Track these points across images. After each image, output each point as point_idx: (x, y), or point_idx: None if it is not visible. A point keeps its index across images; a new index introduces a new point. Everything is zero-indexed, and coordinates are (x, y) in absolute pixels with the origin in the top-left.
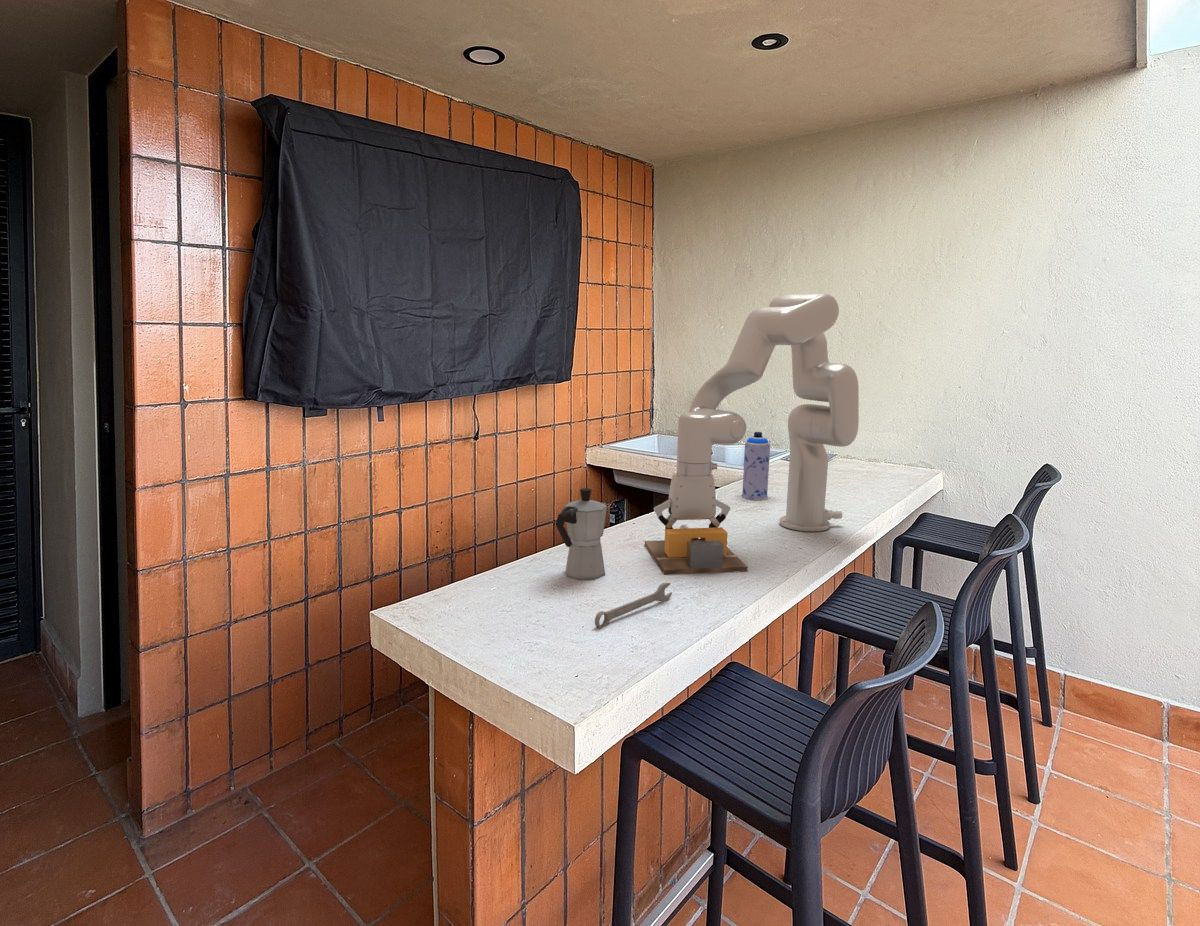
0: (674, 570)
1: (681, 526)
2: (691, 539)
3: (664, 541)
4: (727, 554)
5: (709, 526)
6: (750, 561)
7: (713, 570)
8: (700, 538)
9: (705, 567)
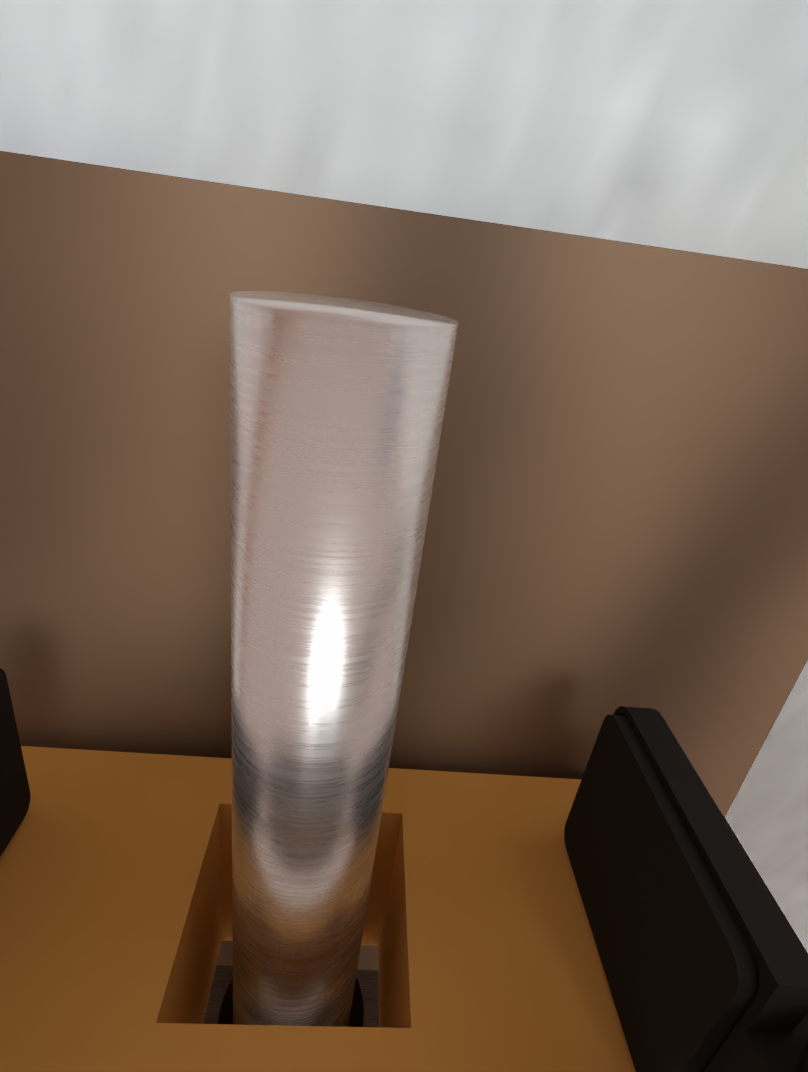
0: None
1: (253, 385)
2: (236, 994)
3: (10, 232)
4: None
5: (706, 969)
6: (762, 870)
7: None
8: (404, 929)
9: None
